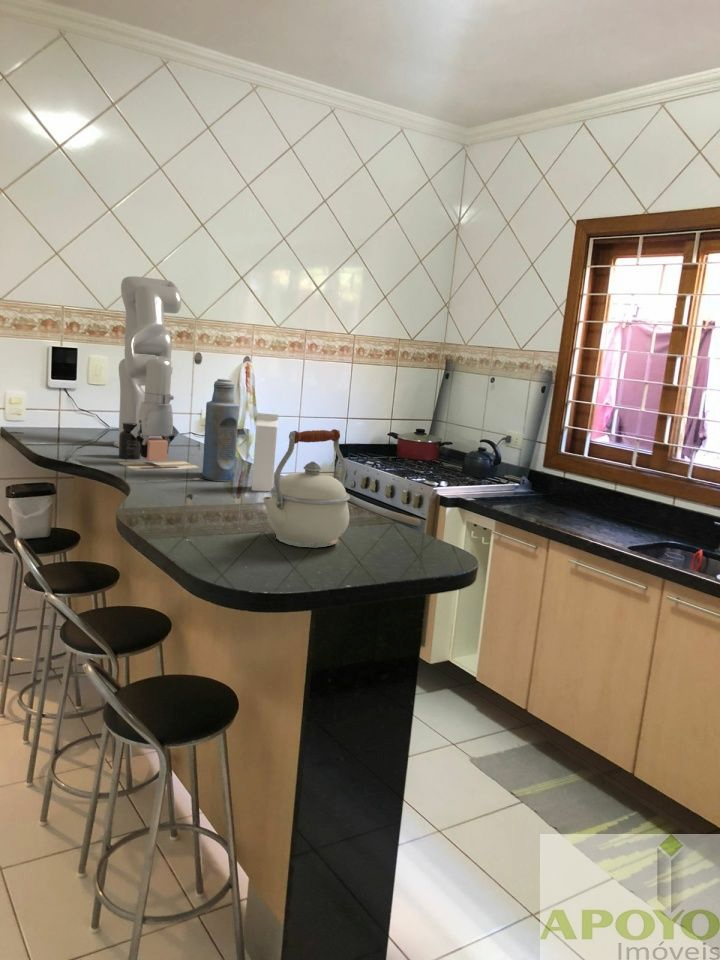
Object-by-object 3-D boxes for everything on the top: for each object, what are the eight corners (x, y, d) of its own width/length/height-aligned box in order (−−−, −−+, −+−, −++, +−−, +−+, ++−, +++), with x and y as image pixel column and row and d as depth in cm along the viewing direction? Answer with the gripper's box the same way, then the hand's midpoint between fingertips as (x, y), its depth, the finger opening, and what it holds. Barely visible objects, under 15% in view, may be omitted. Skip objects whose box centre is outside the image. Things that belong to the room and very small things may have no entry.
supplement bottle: (143, 459, 251) (145, 423, 249) (135, 462, 244) (137, 425, 242) (123, 457, 252) (124, 421, 250) (114, 460, 245) (116, 423, 243)
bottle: (211, 482, 226) (218, 380, 220) (196, 475, 233) (202, 376, 228) (240, 481, 232) (247, 381, 226) (223, 474, 239) (230, 378, 234)
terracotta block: (140, 456, 239) (141, 437, 238) (158, 456, 243) (159, 437, 242) (148, 460, 235) (149, 441, 234) (166, 460, 239) (168, 441, 238)
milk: (272, 492, 220) (278, 416, 216) (251, 490, 220) (256, 414, 216) (272, 488, 226) (278, 413, 222) (252, 486, 226) (257, 411, 221)
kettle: (309, 525, 186) (318, 423, 181) (368, 543, 175) (379, 434, 170) (231, 539, 167) (238, 425, 162) (291, 560, 155) (301, 438, 151)
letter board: (116, 464, 238) (117, 461, 238) (181, 462, 252) (181, 460, 252) (135, 473, 228) (135, 470, 228) (202, 470, 242) (202, 468, 242)
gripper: (177, 397, 244) (174, 453, 247) (125, 396, 233) (122, 454, 236) (188, 401, 238) (184, 458, 242) (135, 400, 227) (132, 459, 231)
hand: (153, 455), depth 239 cm, fingers closed on terracotta block, 6 cm apart
